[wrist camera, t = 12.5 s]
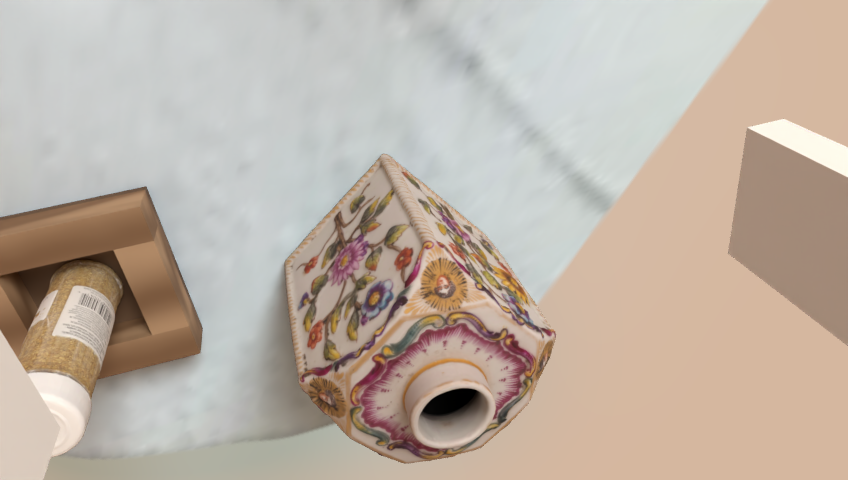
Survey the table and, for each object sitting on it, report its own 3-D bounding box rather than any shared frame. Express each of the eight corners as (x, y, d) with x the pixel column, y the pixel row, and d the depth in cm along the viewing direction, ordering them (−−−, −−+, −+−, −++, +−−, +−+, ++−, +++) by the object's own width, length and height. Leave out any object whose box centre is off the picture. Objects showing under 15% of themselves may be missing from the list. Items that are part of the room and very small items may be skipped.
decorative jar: (391, 334, 52) (451, 520, 37) (278, 263, 46) (295, 449, 31) (492, 233, 50) (602, 388, 35) (386, 144, 44) (461, 284, 29)
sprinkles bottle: (37, 271, 42) (-40, 417, 30) (104, 248, 42) (53, 384, 31) (74, 322, 44) (16, 475, 33) (138, 299, 45) (101, 443, 33)
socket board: (-51, 228, 40) (-70, 252, 37) (146, 186, 41) (139, 206, 39) (35, 369, 46) (23, 398, 43) (202, 328, 48) (200, 353, 45)
